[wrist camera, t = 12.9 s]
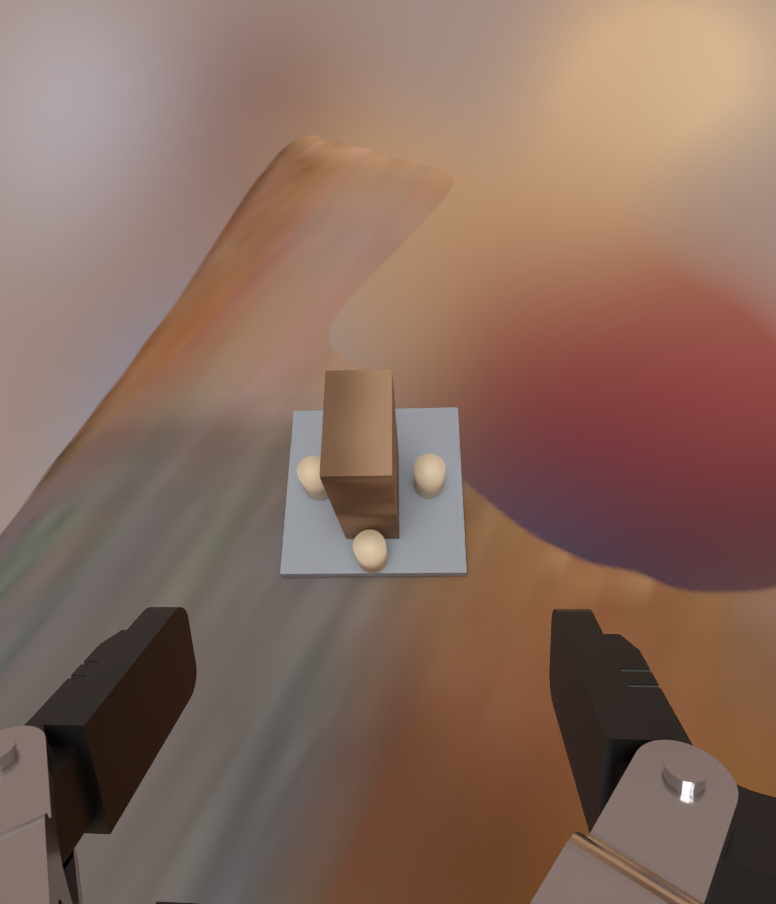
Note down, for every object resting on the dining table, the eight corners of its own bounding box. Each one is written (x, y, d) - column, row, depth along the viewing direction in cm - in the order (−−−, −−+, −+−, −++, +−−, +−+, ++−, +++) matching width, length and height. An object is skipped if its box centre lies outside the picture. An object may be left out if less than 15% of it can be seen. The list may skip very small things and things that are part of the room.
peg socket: (456, 413, 42) (460, 385, 38) (465, 575, 37) (470, 561, 33) (296, 417, 42) (284, 389, 39) (283, 577, 37) (268, 562, 34)
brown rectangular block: (398, 455, 39) (392, 369, 29) (399, 538, 37) (391, 475, 27) (349, 456, 40) (325, 371, 30) (346, 539, 37) (319, 476, 27)
